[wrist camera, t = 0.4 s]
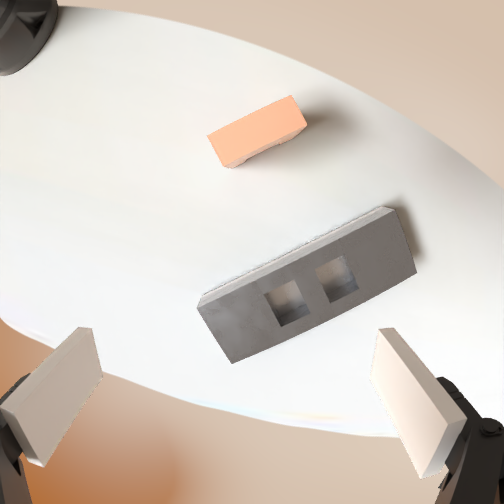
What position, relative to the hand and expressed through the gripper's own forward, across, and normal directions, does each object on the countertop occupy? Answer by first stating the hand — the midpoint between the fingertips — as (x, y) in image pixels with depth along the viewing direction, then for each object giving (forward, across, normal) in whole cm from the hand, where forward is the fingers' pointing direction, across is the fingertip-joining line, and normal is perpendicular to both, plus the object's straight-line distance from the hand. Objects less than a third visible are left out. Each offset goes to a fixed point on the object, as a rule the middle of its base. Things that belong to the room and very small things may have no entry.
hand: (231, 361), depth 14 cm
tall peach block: (+24, +1, +12) cm, 27 cm away
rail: (+24, +7, -4) cm, 26 cm away
